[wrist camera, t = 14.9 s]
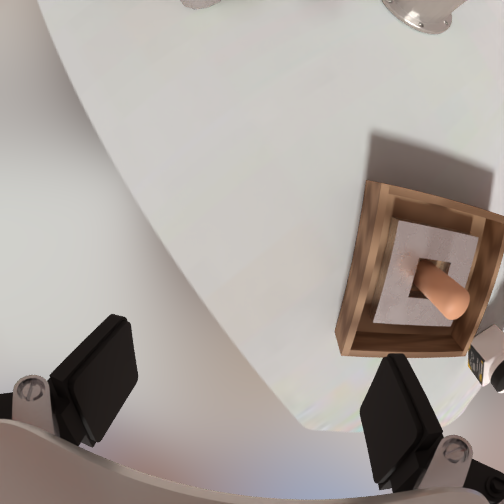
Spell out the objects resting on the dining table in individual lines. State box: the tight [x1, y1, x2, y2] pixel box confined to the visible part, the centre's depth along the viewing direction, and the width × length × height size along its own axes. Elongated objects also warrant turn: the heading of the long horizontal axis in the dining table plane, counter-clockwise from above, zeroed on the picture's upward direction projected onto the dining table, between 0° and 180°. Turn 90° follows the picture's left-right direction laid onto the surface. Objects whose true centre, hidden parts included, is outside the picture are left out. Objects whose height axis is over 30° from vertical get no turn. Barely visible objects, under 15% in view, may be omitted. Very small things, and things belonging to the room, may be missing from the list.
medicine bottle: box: [468, 324, 504, 393], centre depth 33 cm, size 7×7×12 cm
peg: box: [413, 260, 470, 320], centre depth 30 cm, size 4×4×10 cm
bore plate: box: [368, 217, 479, 326], centre depth 34 cm, size 14×14×2 cm
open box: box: [335, 180, 504, 358], centre depth 33 cm, size 22×22×6 cm
